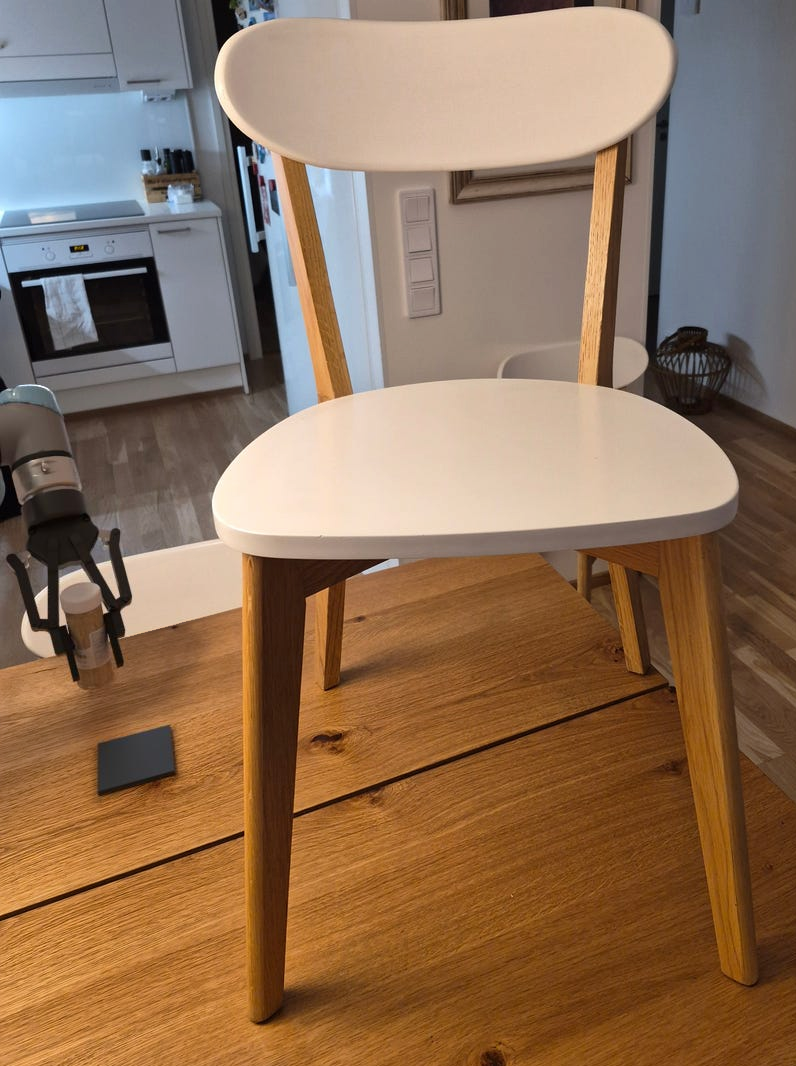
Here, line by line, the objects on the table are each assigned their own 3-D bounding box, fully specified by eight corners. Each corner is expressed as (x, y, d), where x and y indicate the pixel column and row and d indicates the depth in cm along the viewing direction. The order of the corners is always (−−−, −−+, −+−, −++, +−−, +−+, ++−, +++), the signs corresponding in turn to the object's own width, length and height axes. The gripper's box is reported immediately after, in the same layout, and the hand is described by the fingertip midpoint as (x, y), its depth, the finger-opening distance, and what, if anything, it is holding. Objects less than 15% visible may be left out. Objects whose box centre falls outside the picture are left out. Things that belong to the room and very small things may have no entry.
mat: (98, 795, 93) (97, 791, 93) (98, 746, 100) (97, 742, 99) (175, 774, 96) (174, 770, 95) (170, 728, 102) (169, 724, 102)
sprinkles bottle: (69, 685, 107) (50, 594, 102) (99, 665, 111) (82, 576, 106) (94, 696, 106) (76, 604, 100) (124, 676, 109) (108, 586, 104)
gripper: (-29, 504, 102) (16, 691, 96) (123, 472, 111) (174, 641, 105) (-21, 525, 109) (21, 702, 102) (122, 493, 117) (169, 654, 111)
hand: (98, 671), depth 103 cm, fingers closed on sprinkles bottle, 4 cm apart
